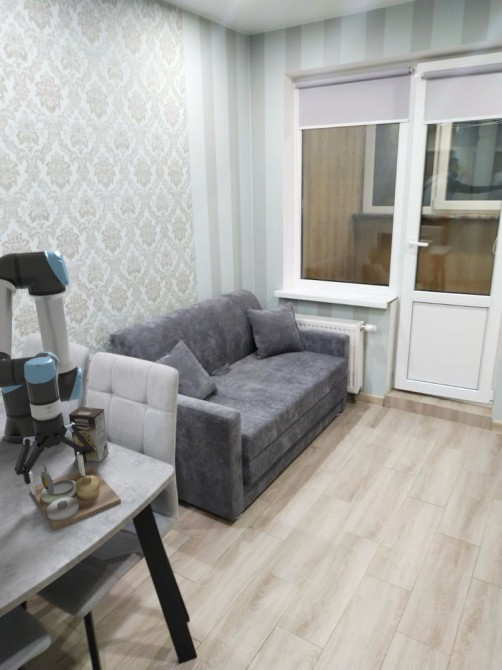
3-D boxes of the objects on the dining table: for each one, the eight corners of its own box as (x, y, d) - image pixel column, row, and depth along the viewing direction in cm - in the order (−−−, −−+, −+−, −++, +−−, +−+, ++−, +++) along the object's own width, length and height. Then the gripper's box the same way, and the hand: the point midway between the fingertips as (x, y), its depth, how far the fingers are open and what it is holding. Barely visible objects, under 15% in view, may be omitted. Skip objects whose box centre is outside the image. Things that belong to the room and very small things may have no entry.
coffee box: (74, 459, 153) (67, 414, 149) (85, 449, 159) (79, 405, 155) (99, 462, 151) (93, 416, 147) (109, 452, 157) (104, 407, 153)
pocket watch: (78, 483, 137) (74, 453, 135) (62, 501, 130) (56, 469, 127) (53, 481, 139) (48, 450, 136) (35, 498, 131) (29, 467, 128)
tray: (30, 491, 138) (27, 472, 136) (91, 468, 148) (89, 450, 147) (54, 530, 121) (50, 509, 119) (120, 501, 132) (118, 482, 130)
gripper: (-1, 434, 118) (14, 507, 124) (97, 405, 132) (106, 472, 139) (-7, 423, 123) (7, 494, 129) (87, 397, 138) (96, 461, 144)
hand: (58, 482), depth 134 cm, fingers open, 13 cm apart
